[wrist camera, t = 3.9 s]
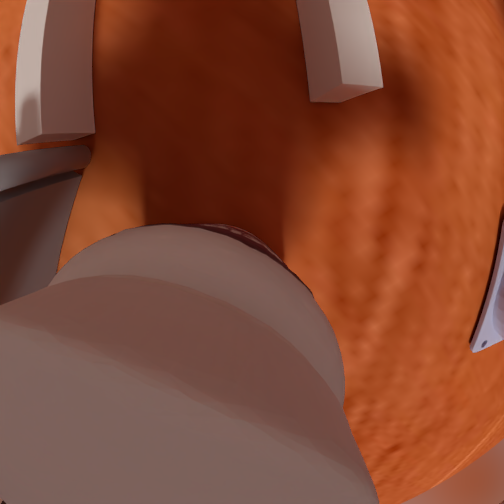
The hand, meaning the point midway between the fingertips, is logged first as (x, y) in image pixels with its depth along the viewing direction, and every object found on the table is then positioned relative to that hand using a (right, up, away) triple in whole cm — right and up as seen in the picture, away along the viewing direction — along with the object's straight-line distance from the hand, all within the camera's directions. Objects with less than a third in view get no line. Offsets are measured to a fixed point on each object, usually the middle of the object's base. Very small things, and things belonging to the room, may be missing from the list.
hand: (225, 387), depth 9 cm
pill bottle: (0, +3, 0) cm, 3 cm away
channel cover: (-7, +5, 0) cm, 8 cm away
